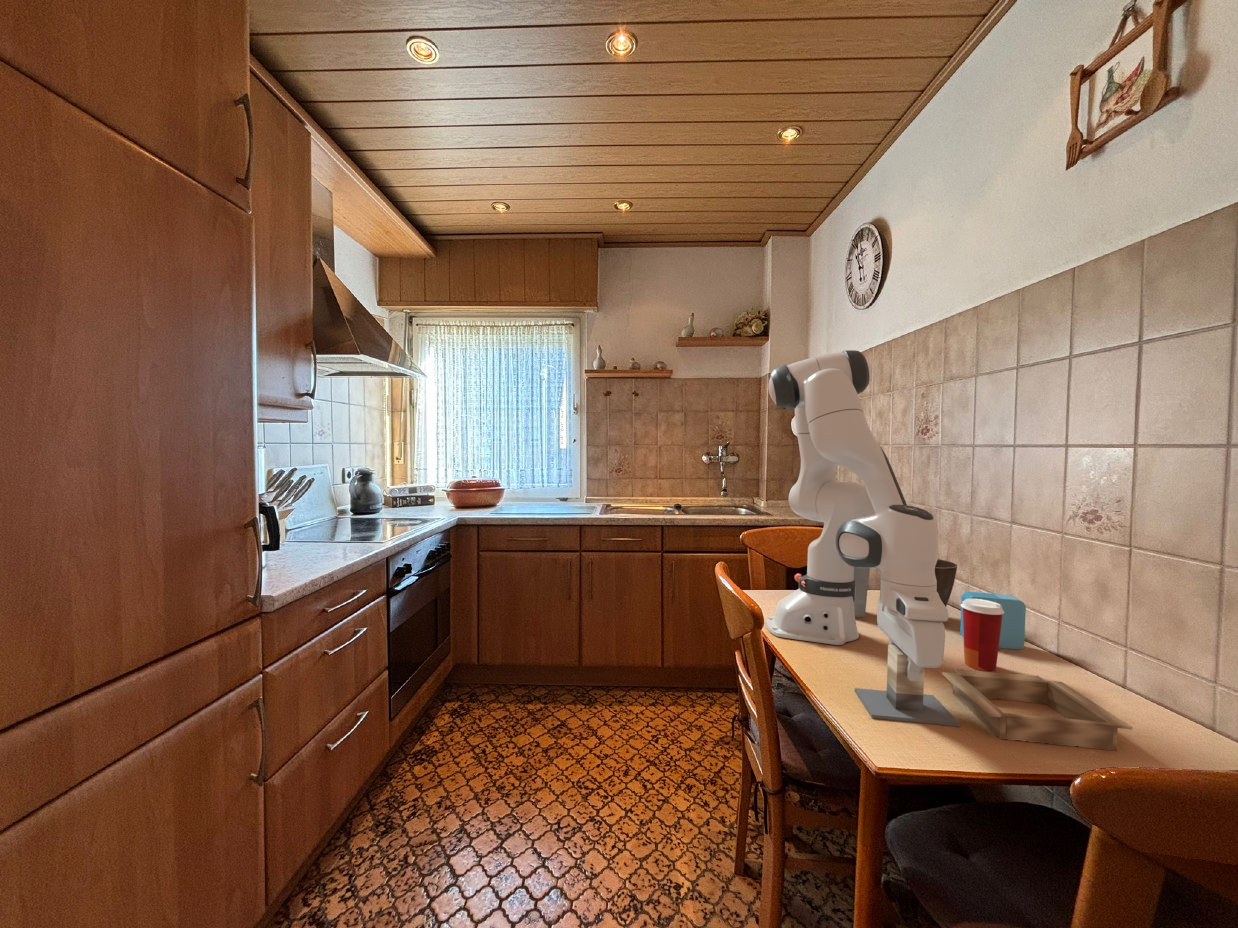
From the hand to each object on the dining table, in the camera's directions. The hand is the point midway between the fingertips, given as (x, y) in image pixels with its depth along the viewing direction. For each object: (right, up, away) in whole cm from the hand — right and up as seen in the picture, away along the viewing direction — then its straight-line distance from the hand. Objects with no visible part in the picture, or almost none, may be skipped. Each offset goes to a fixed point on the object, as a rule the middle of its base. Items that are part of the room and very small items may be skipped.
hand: (904, 671), depth 91 cm
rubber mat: (0, -7, 0) cm, 7 cm away
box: (0, -6, 0) cm, 6 cm away
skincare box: (+15, -6, +54) cm, 57 cm away
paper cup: (+27, -7, +19) cm, 34 cm away
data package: (+40, -7, +32) cm, 51 cm away
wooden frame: (+20, -7, -3) cm, 21 cm away
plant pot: (+35, -6, +51) cm, 62 cm away
